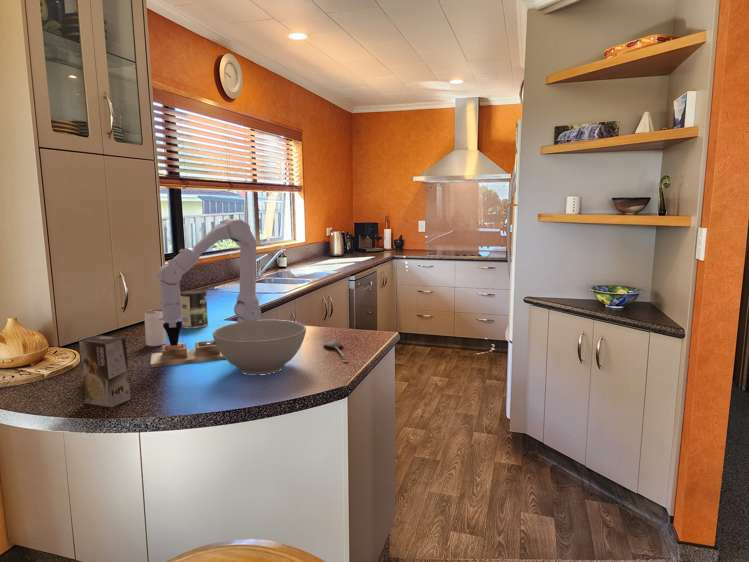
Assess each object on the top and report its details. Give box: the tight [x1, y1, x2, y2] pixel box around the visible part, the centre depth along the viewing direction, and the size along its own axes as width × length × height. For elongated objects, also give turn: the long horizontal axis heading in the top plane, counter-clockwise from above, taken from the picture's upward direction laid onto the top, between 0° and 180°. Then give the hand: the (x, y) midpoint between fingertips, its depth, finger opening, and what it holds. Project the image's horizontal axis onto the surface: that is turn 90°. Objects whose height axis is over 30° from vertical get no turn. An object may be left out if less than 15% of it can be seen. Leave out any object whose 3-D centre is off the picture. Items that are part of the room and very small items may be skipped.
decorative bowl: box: [212, 319, 307, 376], centre depth 153 cm, size 27×27×12 cm
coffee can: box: [180, 289, 209, 329], centre depth 210 cm, size 10×10×14 cm
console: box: [149, 339, 226, 368], centre depth 167 cm, size 24×12×4 cm, turn 111°
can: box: [144, 309, 167, 347], centre depth 182 cm, size 6×6×12 cm
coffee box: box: [78, 334, 131, 408], centre depth 129 cm, size 9×6×16 cm
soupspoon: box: [323, 340, 349, 361], centre depth 170 cm, size 22×3×7 cm
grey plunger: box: [200, 340, 214, 346], centre depth 168 cm, size 4×4×3 cm
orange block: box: [166, 342, 182, 350], centre depth 165 cm, size 4×4×3 cm
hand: (174, 344), depth 164 cm, fingers closed, pressing on orange block
